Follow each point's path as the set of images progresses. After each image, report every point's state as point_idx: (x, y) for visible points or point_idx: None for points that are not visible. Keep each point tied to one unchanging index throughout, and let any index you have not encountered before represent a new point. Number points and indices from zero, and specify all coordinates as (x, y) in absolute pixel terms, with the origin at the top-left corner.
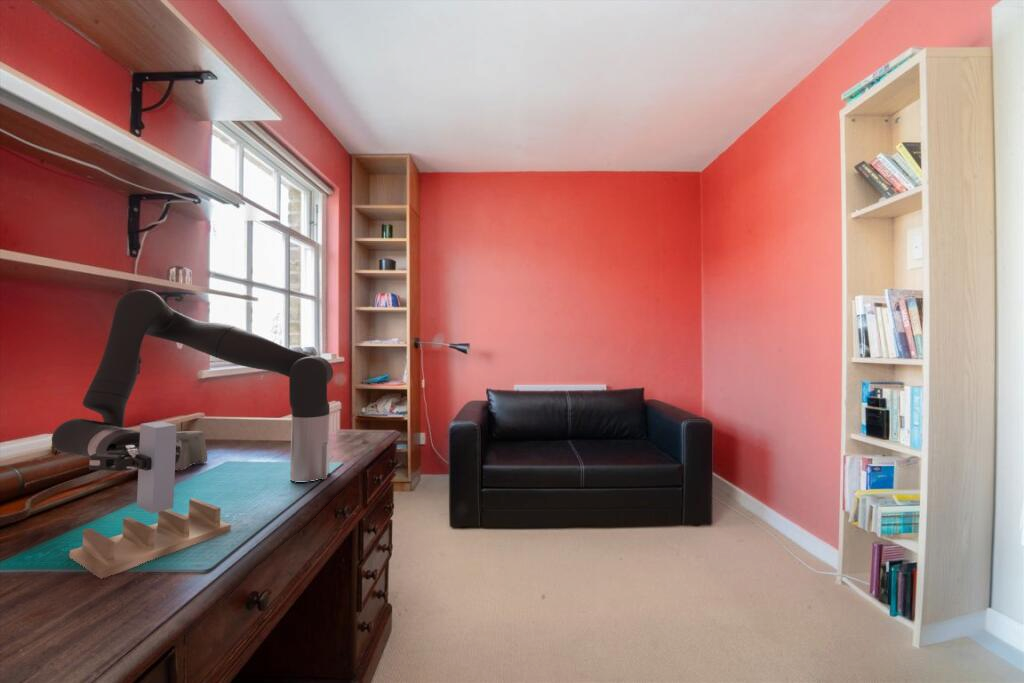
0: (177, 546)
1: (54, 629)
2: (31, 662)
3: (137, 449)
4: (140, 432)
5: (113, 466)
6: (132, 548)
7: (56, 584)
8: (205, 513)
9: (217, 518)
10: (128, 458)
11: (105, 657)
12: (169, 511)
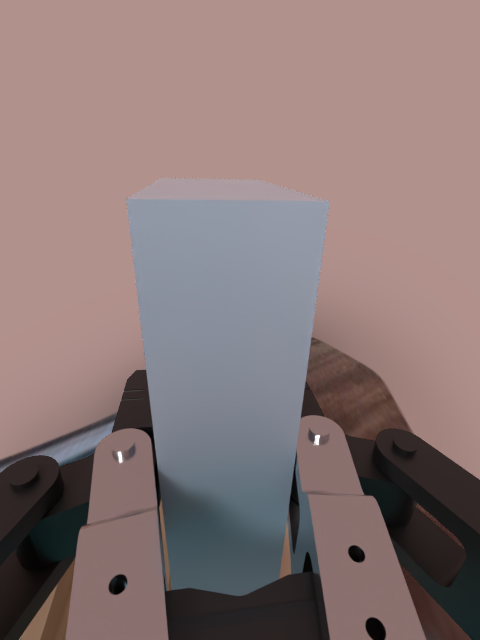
0: None
1: (364, 408)
2: (367, 375)
3: (307, 494)
4: (313, 291)
5: (434, 560)
6: (281, 572)
7: None
8: (66, 593)
9: None
10: (349, 438)
11: (314, 348)
12: None
